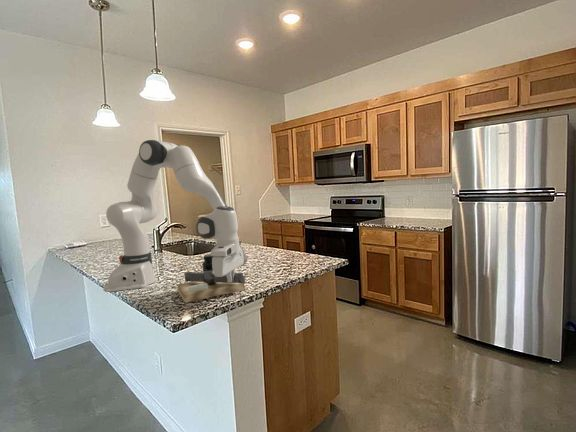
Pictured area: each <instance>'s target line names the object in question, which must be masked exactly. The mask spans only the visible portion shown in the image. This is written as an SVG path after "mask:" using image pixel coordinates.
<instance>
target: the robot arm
mask: <svg viewBox="0 0 576 432" xmlns="http://www.w3.org/2000/svg"><path fill="white" fill-rule="evenodd" d="M161 168H168V169H169V168H171V169H172V171H173V173H174V176H175V179H176V181H177V183H178V184H179V186H180V187H181V188H182V189H183V190H185V191H187V192H189V193H192V194H196V195H199V196H202V197H203V198H205V199H206V200H207V202H208V203H209V205H210V206H211V208H212V210H213V211H212V212H210V213H208V214H206V215H203V216H200V218H198V220H197V222H196V232H197V234H198V235H199V237H201V239H205V240H211V239H216V242H215V243H216V244H215V245H214V247H213V248H212V249H211V250H210V255H211V256H213V258H212V268H213V274H214V276H216V277H223V276H224V275H226V277H227V281H228V282H232V281H234V274H235V273H236V269H238V268H240V267H241V266H243V264H244V265H245V263H244V257H243V251H242V249H241V247H242V246H241V247H240V245H239V241H240V237H239V234H238V230H239V221H238V215H237V212H236V209H235V208H233V207H232V206H228V205H227V204H226V202H225V200H224V198H223V196H222V195H221V192H220V191H219V189H218V188H217V186H216V185H215V184H214V182H213V181H212V180H210V178H209V176H207V175H206V173H205V172H204V170H203V168H202V166H201V165H200V161H199V160H198V158H197V157H196V155H195V153H194V151H193V150H192V149H191V148H190V147H189V146H187V145H180V144H178V143H177V144H175V143H173V142H169V141H162V140H155V139H148V140H145V141H143V142H142V143H141V144H140V146H139V150H138V153H137V156H136V158H135V159H134V162H133V164H132V167H131V170H130V174H129V178H128V181H127V185H126V187H127V190H128V191H129V192H131V199H130V201H119V202H117V203H114V204H111V205H110V206H108V207H107V210H106V212H105V215H106V216H105V217H106V219H107V222H109V224H110V225H112V226H113V227H114V228H116V230H117V231H118V234H119V235H120V237H121V240H122V248H123V254H124V255H123V254H121V255H119V256H118V260H119V265H118V266H117V267H115V269H113V270H112V271H111V272H110V273H109V276H108V278H107V279H108V280H107V283H106V284H104V285H103V289H102V290H103V292H106V293H113V292H118V291H119V292H120V291H127V289H128V290H133V289H141V288H144V287H146V286H149V285H152V284H154V283H155V282H157V281H158V280H157V277H156V275H155V272H154V268H153V256H152V252H151V248H150V238H149V236H148V234H146V232H143V230H142V228H141V226H140V224H144V223H148V222H151V221H152V220H154V219H155V218H156V217H157V215H158V208H157V205H156V204H155V203H154V191H155V186H156V183H157V179H158V177H159V171H160V169H161Z"/></svg>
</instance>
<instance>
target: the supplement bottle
mask: <svg viewBox="0 0 576 432" xmlns="http://www.w3.org/2000/svg"><path fill="white" fill-rule="evenodd" d="M212 258H213V256H211V254H206V255H204V256H203V262H202V264H201V266H202V272H204V271H206V270H213V268H212Z"/></svg>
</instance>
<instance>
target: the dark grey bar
mask: <svg viewBox="0 0 576 432" xmlns="http://www.w3.org/2000/svg"><path fill="white" fill-rule="evenodd" d="M245 275H246V274H245V273H244V272H240V273H239V272H235V274H234V281H232V282H228V281H227V277H226V275H224V276H223V277H216V276H214V274H213V270H206V271H204V272H203V271H185V272H184V281H185V283H189V282H204V283H207V284H208V285H212V284H215V283H216V282H222V283H244V284H245V283H246V276H245Z"/></svg>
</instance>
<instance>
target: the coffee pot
mask: <svg viewBox="0 0 576 432" xmlns="http://www.w3.org/2000/svg"><path fill="white" fill-rule="evenodd" d="M242 242H243V241H242V240H239V245H240V247H241V249H242V251H243V257H244V264H243V265H245V264H246V263H247V261H248V259H249V258H248V256H247V255H246V252H245V250H244V248H243V247H242ZM243 265H242V266H243Z"/></svg>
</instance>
